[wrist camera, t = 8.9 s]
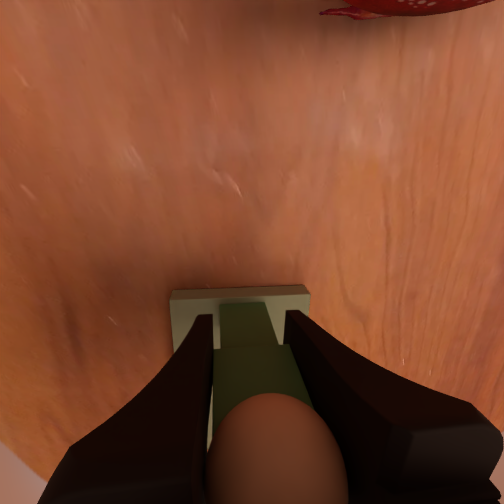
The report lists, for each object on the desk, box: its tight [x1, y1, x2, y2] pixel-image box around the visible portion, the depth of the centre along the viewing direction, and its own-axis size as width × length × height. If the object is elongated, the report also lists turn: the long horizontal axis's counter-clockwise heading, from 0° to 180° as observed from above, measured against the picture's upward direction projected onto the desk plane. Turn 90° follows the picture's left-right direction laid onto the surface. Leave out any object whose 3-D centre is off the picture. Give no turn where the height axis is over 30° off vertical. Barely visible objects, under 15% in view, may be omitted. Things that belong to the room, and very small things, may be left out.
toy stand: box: [169, 285, 311, 449], centre depth 17 cm, size 12×8×1 cm, turn 179°
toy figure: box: [204, 302, 349, 504], centre depth 10 cm, size 10×4×4 cm
